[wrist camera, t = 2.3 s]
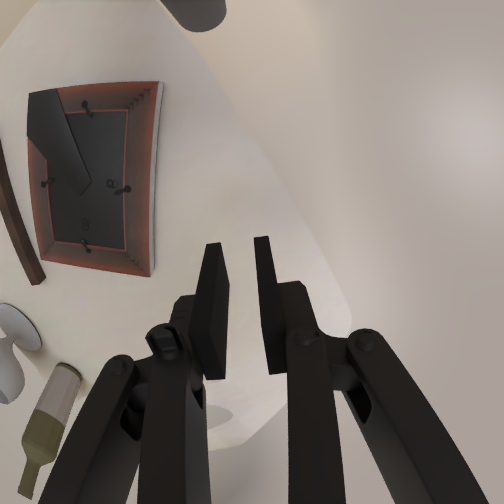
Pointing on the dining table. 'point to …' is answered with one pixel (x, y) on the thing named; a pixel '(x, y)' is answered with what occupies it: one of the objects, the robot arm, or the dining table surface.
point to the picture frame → (95, 174)
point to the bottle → (48, 424)
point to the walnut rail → (17, 228)
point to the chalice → (3, 359)
